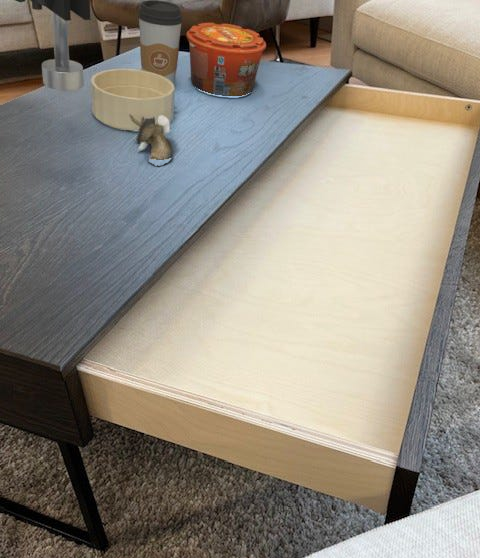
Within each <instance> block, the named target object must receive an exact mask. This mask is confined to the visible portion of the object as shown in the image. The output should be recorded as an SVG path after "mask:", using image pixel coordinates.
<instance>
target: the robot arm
mask: <svg viewBox="0 0 480 558" xmlns="http://www.w3.org/2000/svg"><path fill="white" fill-rule="evenodd" d="M14 1H16V2H19V3H24V2H26V0H14ZM29 2H31V8H32V10H34V11H35V10H36V11H41V10H43V7H45V8H47V9H48V10H50V11H51V13H52V12H54V13H55V14H57V15H58V16H59V17H61V18H62V19H63V20H65V21H67V22H68V21H72V15H71V14H72V13H74V14H75V15H77V16H78V17H80V18H81V19H83V21H91V0H29ZM71 12H72V13H71Z"/></svg>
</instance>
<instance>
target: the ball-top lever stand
mask: <svg viewBox="0 0 480 558" xmlns="http://www.w3.org/2000/svg"><path fill="white" fill-rule="evenodd" d="M51 24H52V25H51V26H52V36H53V37H52V38H53V51H54V52H53V55H54V58H53V59H47V60H44V61H43V62H42V63H41V75H42V83H43V85H44V86H45V87H47V88H49V89H50V90H51V89H52V90H56V91H62V92H65V91H66V92H69V91H77V90H80V89H82V88H83V87H84V86H85V85H84V67H83V65H82V64H81V63H79V62H78V61H75V60H71V59H70V50H69V31H68V20H67V21H65V20H63V19H62V18H61V17H59V16H58V15H57V14H55V13H54V12H52V11H51Z"/></svg>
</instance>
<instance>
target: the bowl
mask: <svg viewBox="0 0 480 558" xmlns="http://www.w3.org/2000/svg"><path fill="white" fill-rule="evenodd" d="M175 91H176V89H175V84H173V83H172V82H171V81H170V80H169V79H167V78H165V77H163V76H161V75H158V74H155V73H152V72H148V71H143V70H142V69H135V68H113V69H112V68H111V69H106V70H102V71H99V72H97V73H94V75H92V76H91V78H90V94H91V113H92V115H93V116H94V117H95V118H96V119H97V120H98V121H100V122H101V123H102V124H104V125H106V126H108V127H111V128H113V129H117V130H122V131H126V130H139V128H140V127H139V126H138V125H136V124H135V123H134V122H133V121H132V120H131V118H130V117H129V115H132V116H133V117H134V119H136V120H137V121H138V122H140V123H141V119H142V117H144V118H145V119H146V118H148V119H150V118H153V117H154V119H155V125H156V124H157V119H158V116H159V115H163V116H165V117H167V119H168V120H169V123H170V124H171V122H172V121H173V119H174V111H175Z"/></svg>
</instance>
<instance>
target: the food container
mask: <svg viewBox="0 0 480 558" xmlns="http://www.w3.org/2000/svg"><path fill="white" fill-rule="evenodd" d="M186 39H187V41H188V42H189V43H188V45H189V47H188V48H189V62H190V63H189V64H190V66H189V67H190V81H191V85H192V87H194V88H195V87H196V88H198V89H200V90H202V91H205V92H208V93H211V94H215V95H222V96H242V95H246V94H248V93H250V92H251V91H252V92H253V90H254V86H255V81H256V78H257V75H258V70H259V67H260V63H261V58H262V54H263V52H264V51H265V50H266V48H267V43H266V41H265V40H264V38H263V37H261V36H260V34H259V32H256V31H254V30H252V29H250V28H243V27H242V26H240V25H236V24H230V23H222V24H220V23H219V24H217V23H214V22H202V23H201V22H200V23H198V24H197V25H193V26H191V28H189V30H187V31H186ZM196 88H195V89H196Z"/></svg>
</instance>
